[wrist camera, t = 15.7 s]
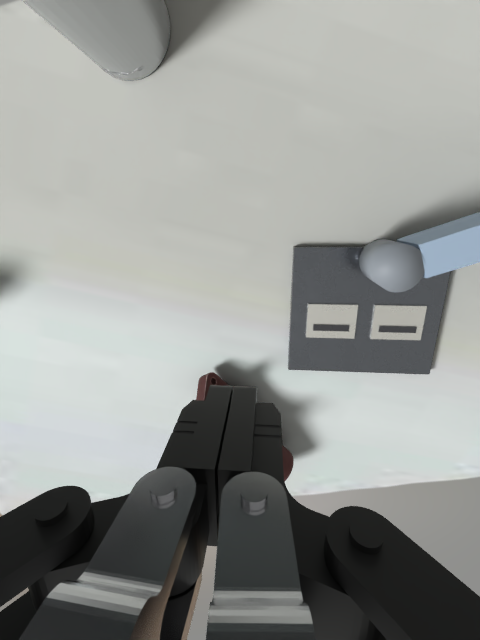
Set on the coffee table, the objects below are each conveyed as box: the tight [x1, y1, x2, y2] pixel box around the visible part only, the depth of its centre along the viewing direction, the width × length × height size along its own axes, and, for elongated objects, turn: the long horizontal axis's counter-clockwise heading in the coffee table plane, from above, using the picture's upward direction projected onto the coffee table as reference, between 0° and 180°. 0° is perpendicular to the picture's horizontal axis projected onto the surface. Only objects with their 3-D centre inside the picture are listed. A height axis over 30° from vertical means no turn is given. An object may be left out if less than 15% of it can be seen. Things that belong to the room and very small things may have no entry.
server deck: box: [288, 245, 450, 374], centre depth 39 cm, size 16×18×4 cm
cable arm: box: [359, 212, 480, 292], centre depth 31 cm, size 17×5×6 cm, turn 110°
